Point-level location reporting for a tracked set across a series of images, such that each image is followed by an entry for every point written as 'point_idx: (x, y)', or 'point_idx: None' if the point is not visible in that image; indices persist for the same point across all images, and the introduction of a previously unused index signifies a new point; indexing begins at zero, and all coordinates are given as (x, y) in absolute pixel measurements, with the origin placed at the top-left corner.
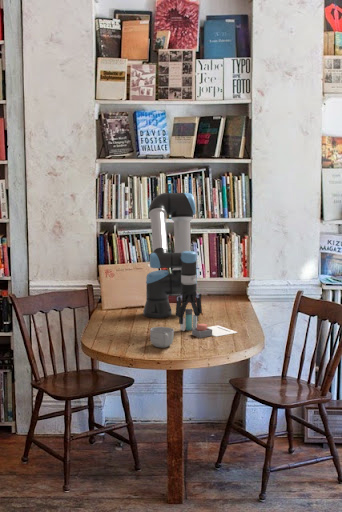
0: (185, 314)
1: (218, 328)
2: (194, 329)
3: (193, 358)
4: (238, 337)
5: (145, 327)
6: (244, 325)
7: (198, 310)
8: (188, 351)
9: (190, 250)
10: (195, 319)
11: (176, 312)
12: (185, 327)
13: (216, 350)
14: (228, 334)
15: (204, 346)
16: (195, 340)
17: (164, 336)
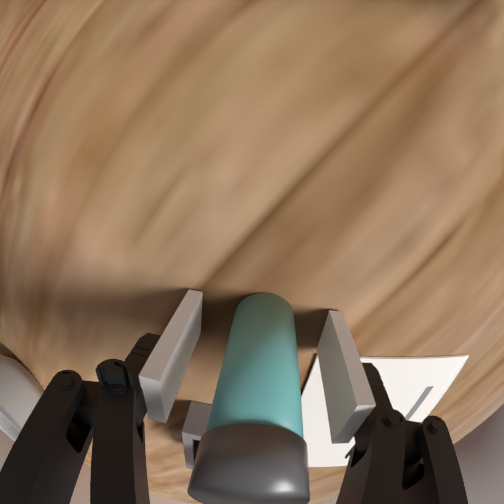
0: (211, 424)
1: (408, 404)
2: (184, 445)
3: (86, 463)
4: (325, 484)
5: (53, 50)
6: (495, 395)
7: (431, 446)
8: (88, 449)
9: None
10: (330, 405)
11: (44, 414)
12: (235, 315)
13: (162, 487)
14: (338, 464)
15: (149, 469)
16: (153, 440)
17: (11, 425)
